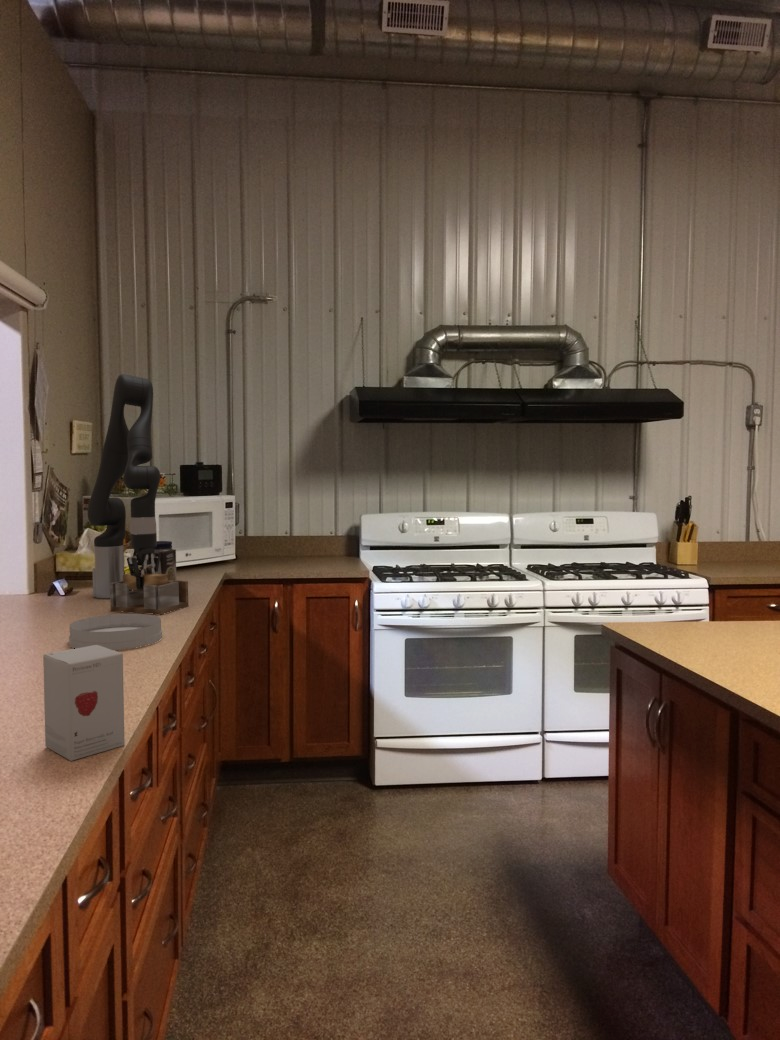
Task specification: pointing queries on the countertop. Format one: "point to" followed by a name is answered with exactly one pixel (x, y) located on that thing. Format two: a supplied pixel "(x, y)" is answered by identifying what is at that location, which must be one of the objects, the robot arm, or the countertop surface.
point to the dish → (116, 631)
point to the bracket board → (149, 597)
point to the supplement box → (83, 701)
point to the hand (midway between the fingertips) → (145, 587)
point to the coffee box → (167, 563)
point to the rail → (145, 580)
